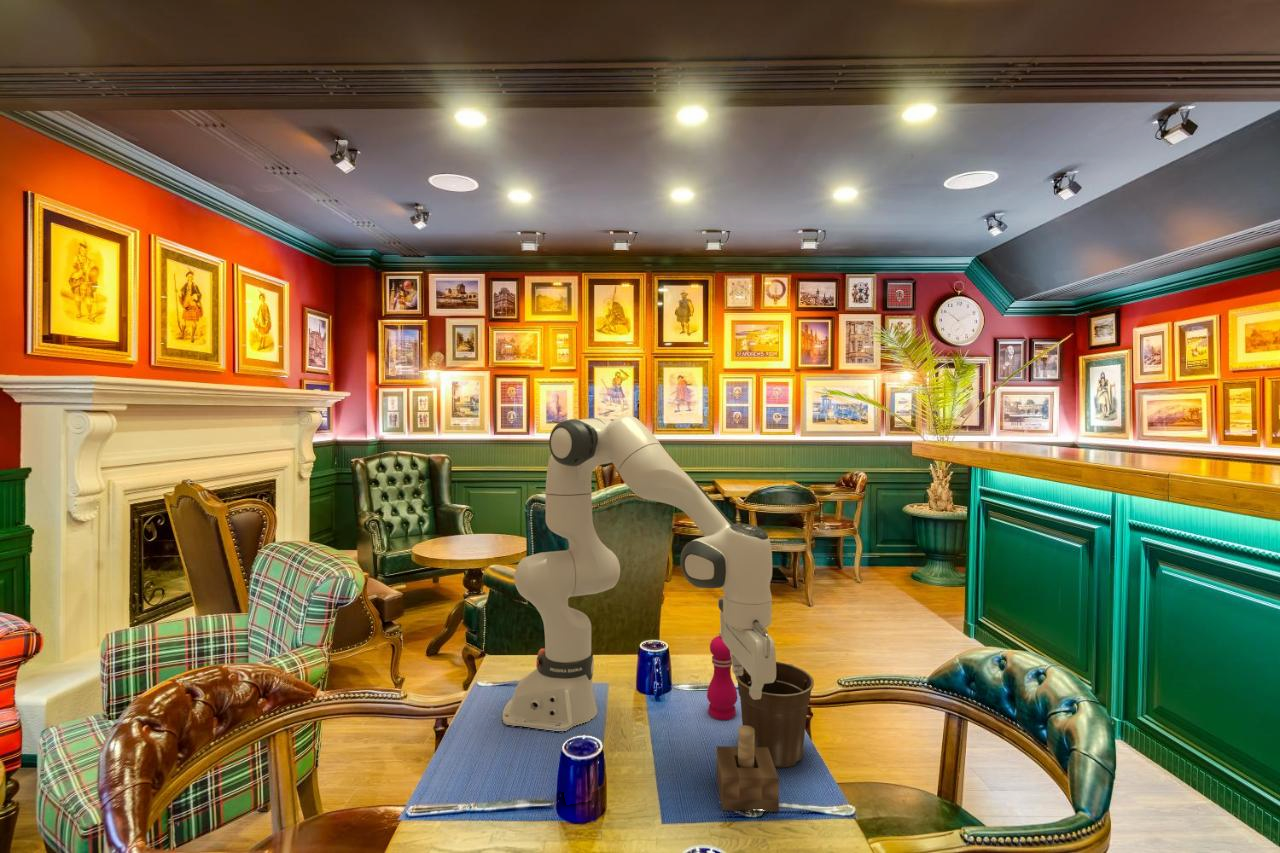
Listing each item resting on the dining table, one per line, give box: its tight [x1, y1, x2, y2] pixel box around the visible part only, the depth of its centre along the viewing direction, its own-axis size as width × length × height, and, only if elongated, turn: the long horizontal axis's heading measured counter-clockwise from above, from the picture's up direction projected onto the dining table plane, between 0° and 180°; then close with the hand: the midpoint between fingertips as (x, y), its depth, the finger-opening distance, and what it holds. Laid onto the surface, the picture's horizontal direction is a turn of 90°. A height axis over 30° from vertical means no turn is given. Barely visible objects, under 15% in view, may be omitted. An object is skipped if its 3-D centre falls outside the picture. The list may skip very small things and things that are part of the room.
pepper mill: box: [706, 630, 738, 721], centre depth 139 cm, size 7×7×20 cm
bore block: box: [716, 745, 780, 813], centre depth 109 cm, size 10×10×6 cm
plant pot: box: [735, 661, 815, 769], centre depth 123 cm, size 16×16×16 cm
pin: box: [737, 724, 755, 768], centre depth 109 cm, size 3×3×10 cm
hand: (746, 685), depth 109 cm, fingers open, 8 cm apart
